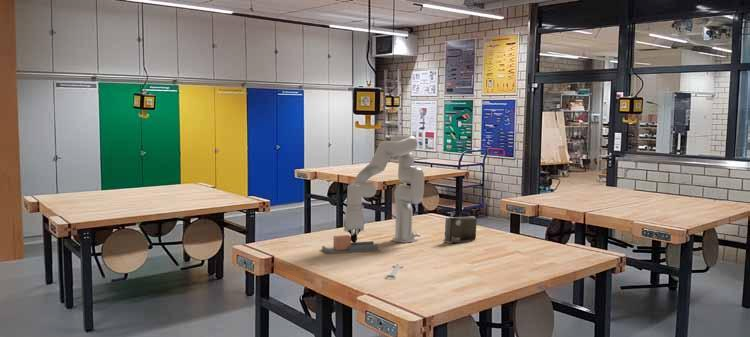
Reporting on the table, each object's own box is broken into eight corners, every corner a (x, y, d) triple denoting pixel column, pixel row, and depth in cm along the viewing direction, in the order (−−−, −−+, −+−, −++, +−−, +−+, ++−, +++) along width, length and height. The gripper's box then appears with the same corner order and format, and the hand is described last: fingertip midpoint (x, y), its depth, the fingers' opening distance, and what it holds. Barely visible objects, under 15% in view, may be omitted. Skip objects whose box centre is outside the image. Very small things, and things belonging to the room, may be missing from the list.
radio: (472, 237, 343) (473, 212, 342) (482, 240, 336) (483, 215, 335) (440, 241, 332) (441, 215, 330) (449, 244, 324) (450, 218, 323)
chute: (372, 246, 317) (372, 240, 316) (378, 250, 307) (378, 244, 307) (322, 249, 307) (322, 244, 307) (327, 254, 298) (327, 248, 298)
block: (348, 247, 309) (348, 235, 309) (350, 249, 305) (351, 236, 304) (333, 248, 307) (333, 235, 306) (336, 250, 302) (336, 237, 301)
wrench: (404, 267, 278) (393, 266, 279) (404, 264, 278) (393, 263, 279) (395, 281, 253) (383, 280, 255) (395, 277, 253) (383, 276, 254)
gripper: (365, 206, 312) (364, 239, 313) (338, 207, 307) (338, 241, 308) (370, 208, 305) (369, 242, 306) (342, 209, 300) (342, 244, 301)
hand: (353, 242), depth 307 cm, fingers closed
